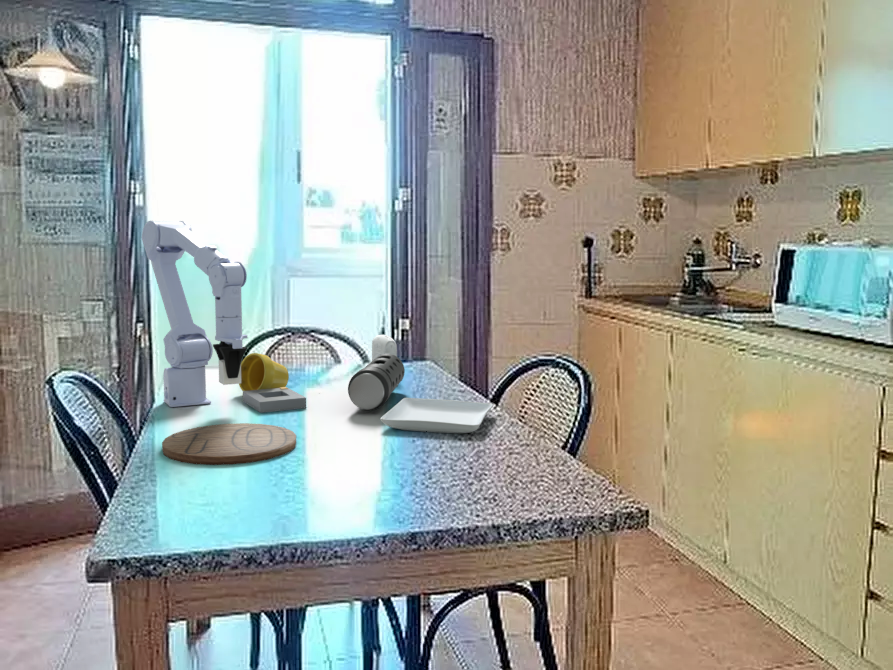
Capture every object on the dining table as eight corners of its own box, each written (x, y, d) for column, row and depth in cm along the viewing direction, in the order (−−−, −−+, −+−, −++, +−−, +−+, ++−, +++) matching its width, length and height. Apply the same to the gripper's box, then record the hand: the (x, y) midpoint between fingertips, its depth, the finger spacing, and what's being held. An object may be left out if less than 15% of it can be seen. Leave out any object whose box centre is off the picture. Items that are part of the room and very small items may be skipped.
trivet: (157, 471, 144) (157, 460, 144) (166, 436, 168) (165, 426, 168) (302, 461, 151) (302, 451, 150) (290, 429, 175) (290, 420, 174)
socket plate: (260, 412, 188) (260, 401, 187) (242, 401, 200) (242, 390, 200) (306, 408, 193) (306, 396, 193) (286, 397, 205) (286, 386, 205)
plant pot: (299, 384, 208) (269, 380, 200) (273, 405, 212) (243, 402, 205) (287, 350, 213) (258, 344, 205) (262, 372, 217) (233, 367, 209)
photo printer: (398, 381, 228) (398, 336, 227) (384, 382, 226) (384, 337, 225) (383, 375, 237) (383, 332, 236) (369, 376, 235) (369, 333, 234)
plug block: (223, 384, 184) (223, 361, 183) (219, 381, 188) (218, 359, 187) (241, 383, 186) (240, 360, 185) (236, 380, 190) (236, 358, 189)
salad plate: (479, 439, 168) (479, 423, 167) (378, 433, 172) (378, 417, 171) (493, 416, 188) (494, 402, 188) (403, 411, 193) (403, 397, 192)
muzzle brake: (405, 392, 214) (405, 352, 212) (387, 417, 186) (387, 371, 185) (369, 391, 214) (369, 352, 213) (345, 415, 187) (345, 370, 185)
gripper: (255, 318, 181) (256, 380, 182) (237, 312, 193) (239, 369, 195) (223, 320, 177) (224, 382, 179) (207, 313, 190) (208, 372, 191)
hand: (230, 376), depth 187 cm, fingers closed on plug block, 4 cm apart
